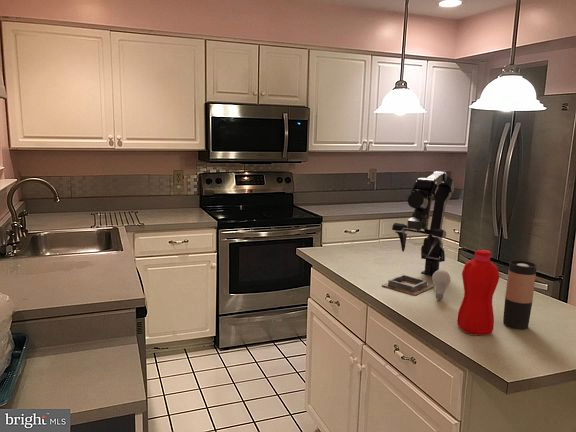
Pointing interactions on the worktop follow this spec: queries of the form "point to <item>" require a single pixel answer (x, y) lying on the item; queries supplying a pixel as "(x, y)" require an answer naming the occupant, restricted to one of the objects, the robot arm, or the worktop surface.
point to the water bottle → (478, 295)
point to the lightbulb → (440, 282)
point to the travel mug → (519, 294)
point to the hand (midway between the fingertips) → (415, 253)
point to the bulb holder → (408, 285)
